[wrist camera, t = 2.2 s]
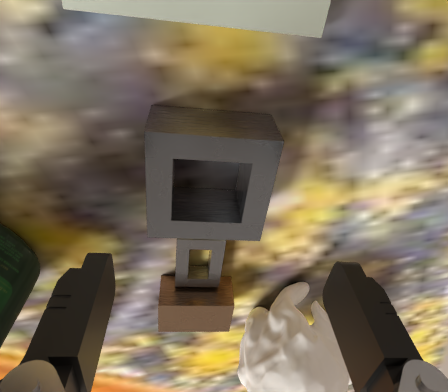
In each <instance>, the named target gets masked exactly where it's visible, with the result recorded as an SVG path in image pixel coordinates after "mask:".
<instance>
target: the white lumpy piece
mask: <svg viewBox="0 0 448 392" xmlns="http://www.w3.org/2000/svg"><path fill="white" fill-rule="evenodd" d="M308 292H309V285H308V284H307V283H306V282H297V283H295V284H292V285H289V286H287V287H285V288H284V289H283V290H282V291H281V292H280V293H279V295H278V296H277V298H276V299H275V301H274V302H273V304H272V305H271V308H270V310H269V312H268V310H267V309H265V308H263V307H256V308H255V309H253V310H252V311H251V312H250V314H249V316H248V318H247V320H246V325H245V333H244V335H243V338H242V340H241V344H240V360H239V366H238V376H239V379H240V381H241V383H242V384H243V385H244V386H245V387H246V388H247V392H347V390H348V385H350V384H352V382H351V379H350V376H349V373H348V371H347V368H346V365H345V362H344V359H343V357H342V354H341V351H340V348H339V345H338V343H337V340H336V337H335V334H334V331H333V329H332V326H331V323H330V320H329V317H328V314H327V313H326V311H325V310H324V309H323V308H322V307H321V306H320V305H319V304H318V302H317V301H314V302H313V303H312V305H311V312H312V315H313V318H314V324H312V325H309V324H308V322H307V320H306V318H305V316H304V315H303V314H302V313H301V312H300V311H299V310H298V309H297V308H296V307H295V306H296V305H297V304H299V303H300V302H301V301H302V300H303V299H304V298H305V297H306V295H307V294H308Z"/></svg>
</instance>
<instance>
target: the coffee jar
mask: <svg viewBox="0 0 448 392" xmlns="http://www.w3.org/2000/svg"><path fill="white" fill-rule="evenodd" d="M39 274H40V263H39V260H38V258H37V256H36V255H35V253H34V252H33V251H32V250H31V249H30V248H29V247H28V246H27V244H26V243H25V242H24V241H23V240H22V239H21V238H20V237H18V236H17V235H16V234H15V233H14V232H12V231H11V230H10V229H9V228H7V227H5V226H4V225H2V224H0V348H1V346H2V344H3V342H4V340H5V338H6V337H7V335H8V333H9V331H10V329H11V328H12V326H13V324H14V322H15V320H16V319H17V317H18V315H19V313H20V312H21V310H22V308H23V306H24V304H25V302H26V300H27V299H28V297H29V295H30V293H31V291H32V289H33V287H34V285H35V283H36V281H37V279H38V277H39Z"/></svg>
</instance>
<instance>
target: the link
mask: <svg viewBox="0 0 448 392" xmlns="http://www.w3.org/2000/svg"><path fill="white" fill-rule="evenodd" d="M144 140H145V173H146V206H147V237H152V238H184V239H215V240H247V241H260V239H261V235H262V230H263V226H264V222H265V218H266V214H267V210H268V206H269V202H270V197H271V193H272V189H273V185H274V181H275V177H276V173H277V169H278V164H279V160H280V156H281V152H282V148H283V144H284V140H283V138H282V136H281V134H280V132H279V130H278V128H277V126H276V124H275V122H274V119H273V117H272V115H270V114H258V113H245V112H233V111H221V110H208V109H196V108H184V107H171V106H159V105H151V109H150V113H149V116H148V120H147V124H146V127H145V131H144ZM175 159H187V160H204V161H220V162H236V163H240V166H239V172H238V178H237V184H236V190H226V189H206V188H187V187H174V172H175Z"/></svg>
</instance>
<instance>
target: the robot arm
mask: <svg viewBox="0 0 448 392" xmlns="http://www.w3.org/2000/svg"><path fill="white" fill-rule="evenodd" d="M114 296H115V276H114V268H113V259H112V254H111V253H88V254H87V255H86V257H85V260H84V262H83V265H82V268H70V269H69V270H68V271H67V272H66V273H65V274H64V275H63V276H62V277H61V278H60V279H59V280H58V281H57V284H56V286H55V288H54V290H53V293H52V297H51V298H50V300H49V302H48V304H47V306H46V310H45V311H44V313H43V315H42V318H41V320H40V322H39V325H38V327H37V329H36V331H35V334H34V336H33V338H32V341H31V343H30V345H29V347H28V350H27V352H26V354H25V356H24V358H23V360H22V361H21V363H20V364H19V365H18V366H17V367H16V368H14V369H13V370H12V371H10V372H9V373H8V374H7V375H6V376H5V377H4V378H3V379H1V380H0V392H91V389H92V385H93V381H94V377H95V373H96V369H97V365H98V361H99V357H100V353H101V349H102V345H103V341H104V337H105V333H106V329H107V325H108V321H109V317H110V313H111V309H112V305H113V301H114ZM323 302H324V306H325V309H326V312H327V314H328V317H329V320H330V323H331V326H332V329H333V331H334V334H335V337H336V340H337V343H338V345H339V348H340V351H341V354H342V357H343V359H344V362H345V365H346V368H347V371H348V373H349V376H350V379H351V382H352V385H353V388H354V390H355V392H448V379H447V378H446V377H445V375H444V374H443V373H442V372H441V371H440V370H438V369H437V368H436V367H434V366H433V365H431V364H429V363H427V362H425V361H423V359H422V358H421V356H420V354H419V352H418V351H417V349H416V347H415V345H414V343H413V342H412V340H411V338H410V336H409V334H408V332H407V331H406V329H405V327H404V325H403V323H402V322H401V320H400V318H399V316H397V313H396V311H395V309H394V307H393V305H391V302H390V300H389V298H388V296H387V294H386V293H385V291H384V289H383V288H382V287H381V286H380V285H379V284H378V283H377V282H376V281H375V280H374V279H373V278H372V277H366V275H365V273H364V271H363V269H362V267H361V266H360V264H358V263H356V262H336V263H335V264H334V266H333V268H332V270H331V273H330V275H329V277H328V279H327V282H326V284H325V286H324V289H323Z"/></svg>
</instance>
